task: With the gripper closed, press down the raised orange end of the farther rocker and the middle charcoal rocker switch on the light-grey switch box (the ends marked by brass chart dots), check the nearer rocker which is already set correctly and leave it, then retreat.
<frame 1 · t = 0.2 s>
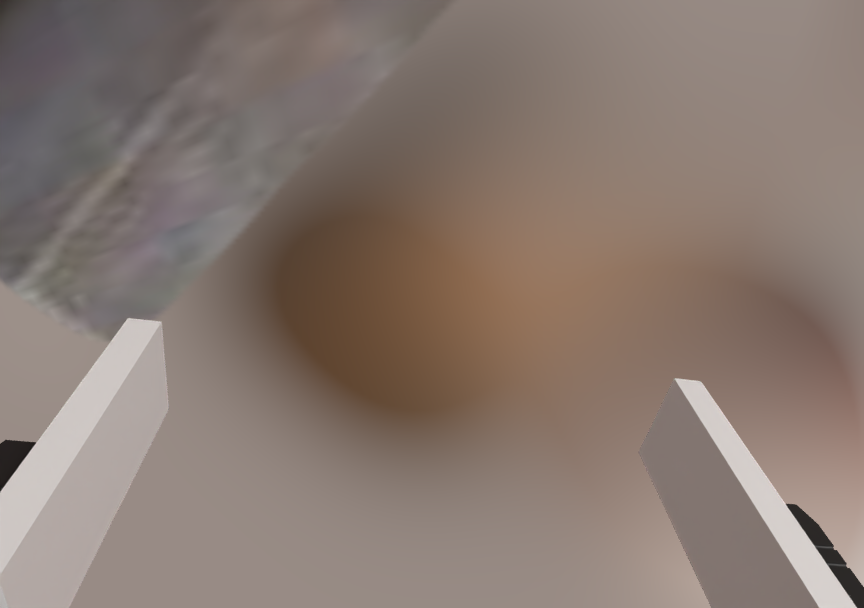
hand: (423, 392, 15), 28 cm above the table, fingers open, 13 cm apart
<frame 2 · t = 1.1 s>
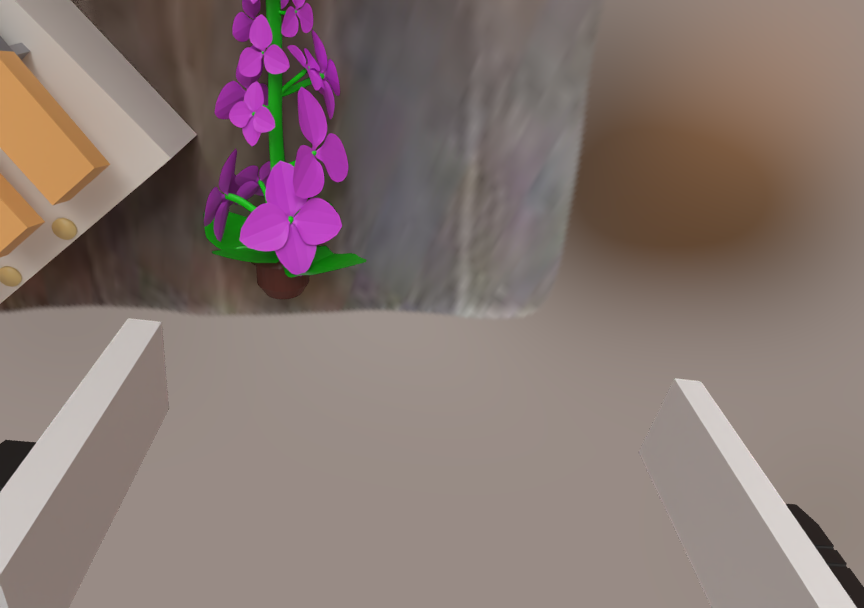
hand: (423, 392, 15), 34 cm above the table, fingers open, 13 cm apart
switch box: (1, 106, 44), on the table
potted plant: (274, 48, 43), on the table
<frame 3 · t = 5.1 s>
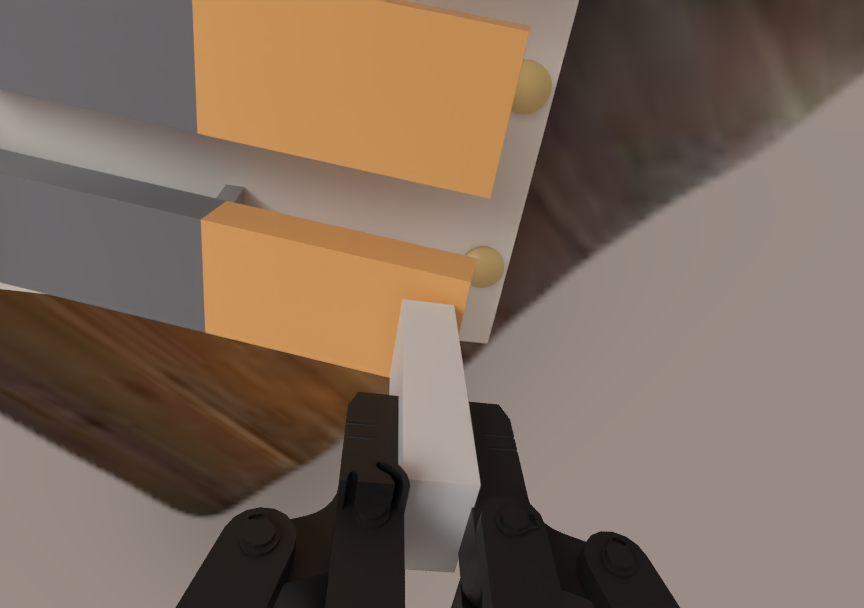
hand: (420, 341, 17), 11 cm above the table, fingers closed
rocker mid: (210, 50, 15), point 9 cm above the table, hinge at -12.5°
switch box: (271, 15, 23), on the table
rocker 1: (215, 268, 19), point 9 cm above the table, hinge at -12.5°, touching gripper
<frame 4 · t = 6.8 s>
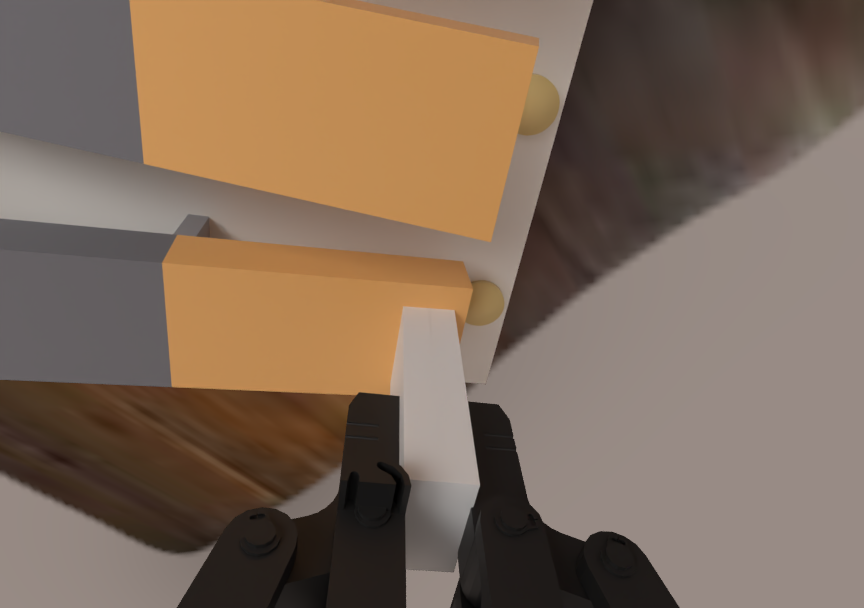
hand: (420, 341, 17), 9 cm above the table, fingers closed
rocker mid: (157, 65, 13), point 9 cm above the table, hinge at -12.5°
switch box: (243, 20, 20), on the table
rocker 1: (174, 312, 16), point 9 cm above the table, hinge at 4.3°, touching gripper
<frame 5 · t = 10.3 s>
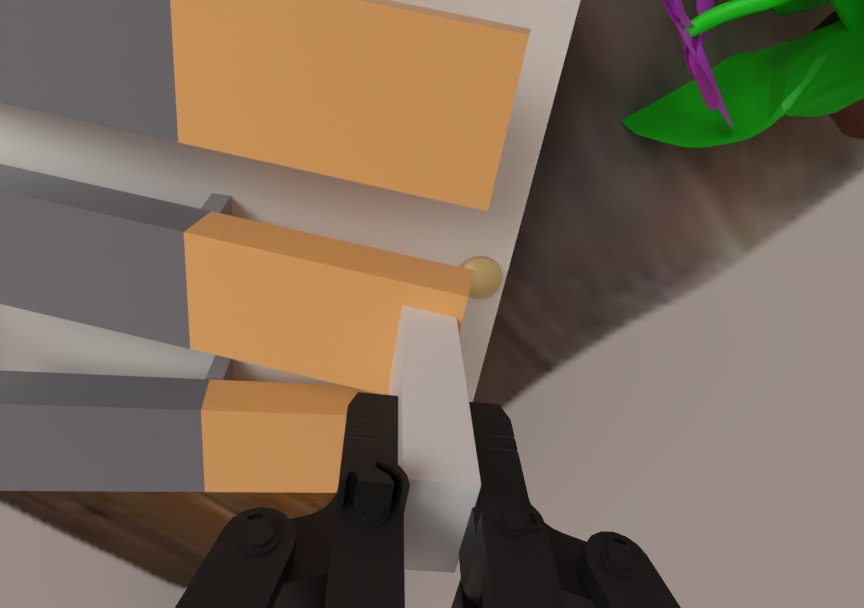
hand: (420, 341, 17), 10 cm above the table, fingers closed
rocker mid: (200, 281, 18), point 9 cm above the table, hinge at -12.0°, touching gripper
switch box: (257, 182, 25), on the table
rocker 2: (191, 54, 14), point 9 cm above the table, hinge at -12.5°
rocker 1: (207, 436, 21), point 9 cm above the table, hinge at 4.7°
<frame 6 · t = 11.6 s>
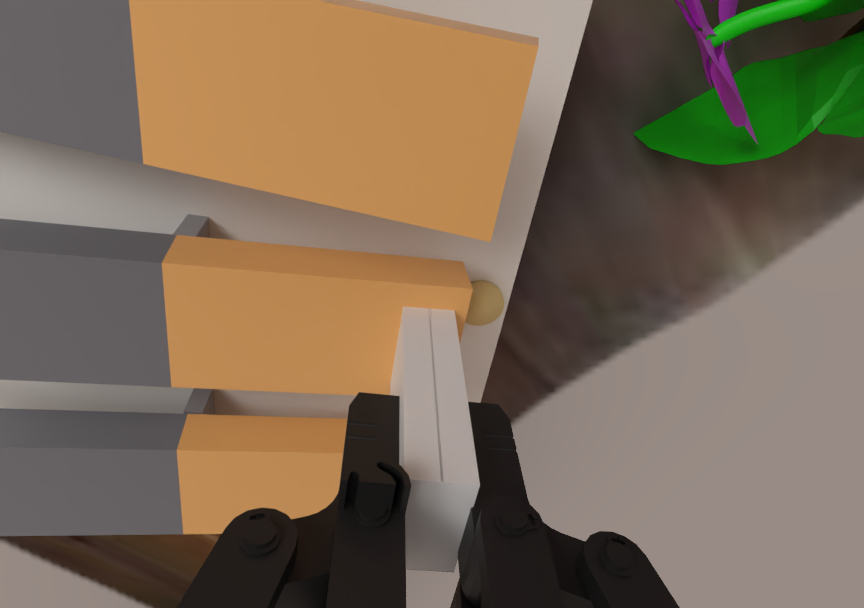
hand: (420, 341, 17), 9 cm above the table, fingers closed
rocker mid: (174, 312, 16), point 9 cm above the table, hinge at 4.2°, touching gripper
switch box: (242, 197, 23), on the table
rocker 2: (156, 65, 13), point 9 cm above the table, hinge at -12.5°
rocker 1: (185, 475, 19), point 9 cm above the table, hinge at 4.7°
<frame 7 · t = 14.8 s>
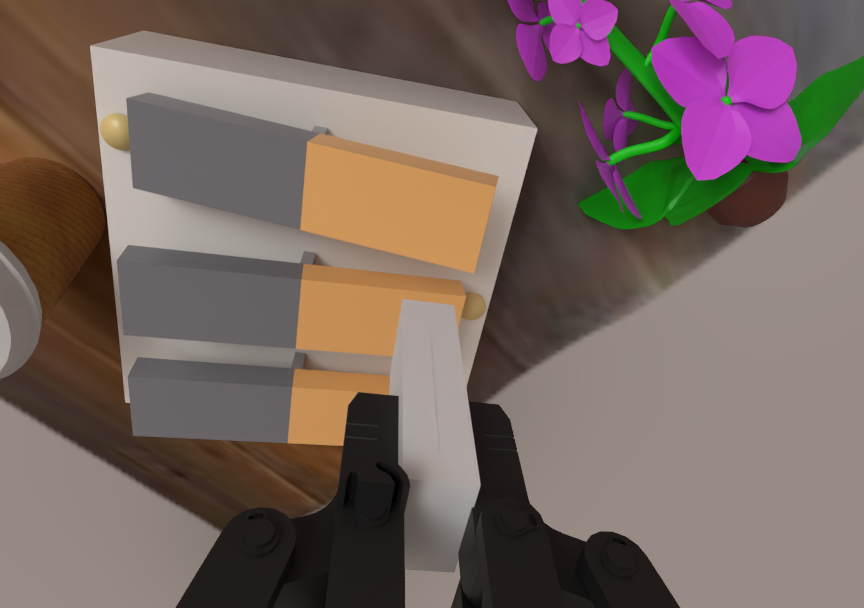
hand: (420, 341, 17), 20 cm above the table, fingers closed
rocker mid: (299, 306, 29), point 9 cm above the table, hinge at 4.8°
switch box: (321, 235, 36), on the table
rocker 2: (310, 182, 26), point 9 cm above the table, hinge at -12.5°
disposable coffee cup: (52, 208, 35), on the table
rocker 1: (291, 406, 32), point 9 cm above the table, hinge at 4.7°
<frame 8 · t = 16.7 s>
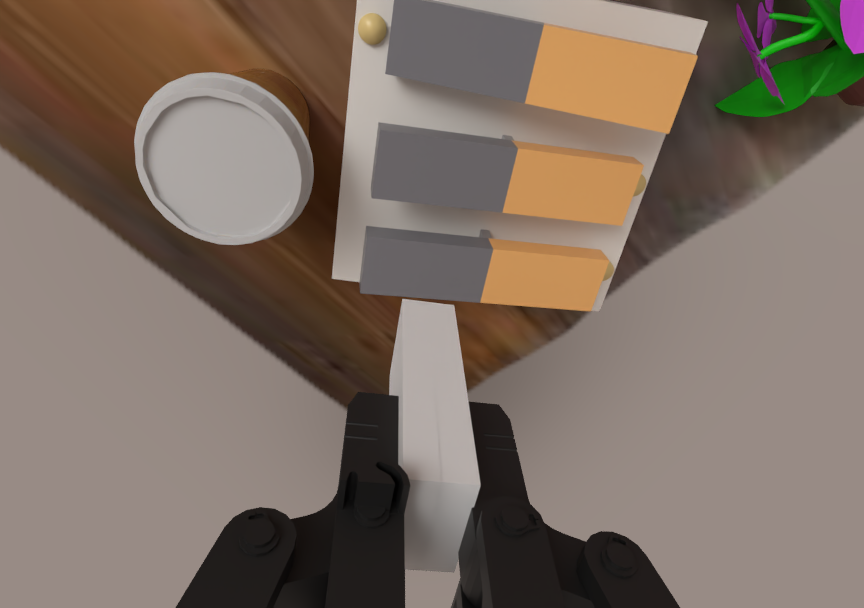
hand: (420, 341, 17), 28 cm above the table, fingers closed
rocker mid: (506, 176, 35), point 9 cm above the table, hinge at 4.8°
switch box: (488, 137, 43), on the table
rocker 2: (534, 63, 32), point 9 cm above the table, hinge at -12.5°
disposable coffee cup: (265, 115, 41), on the table
rocker 1: (484, 270, 39), point 9 cm above the table, hinge at 4.7°
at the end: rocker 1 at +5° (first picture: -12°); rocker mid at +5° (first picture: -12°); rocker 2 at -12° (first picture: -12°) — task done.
